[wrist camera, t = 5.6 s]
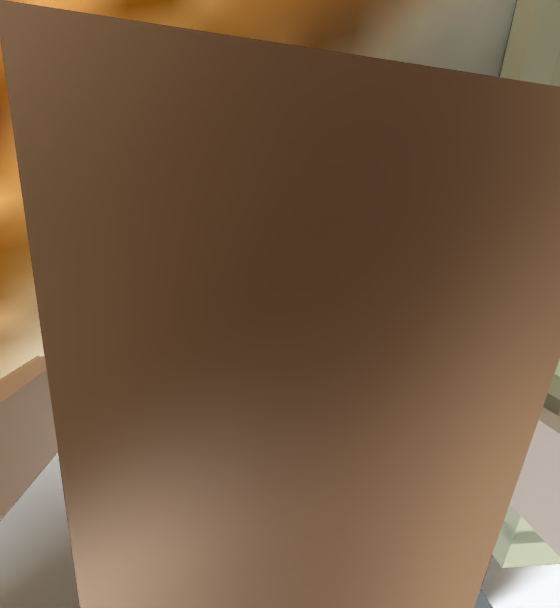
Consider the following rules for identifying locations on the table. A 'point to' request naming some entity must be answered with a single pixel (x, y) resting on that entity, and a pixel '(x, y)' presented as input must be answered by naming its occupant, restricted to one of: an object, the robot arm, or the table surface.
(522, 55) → the jig
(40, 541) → the table surface
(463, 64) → the table surface
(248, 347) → the brown rectangular block
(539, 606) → the table surface
